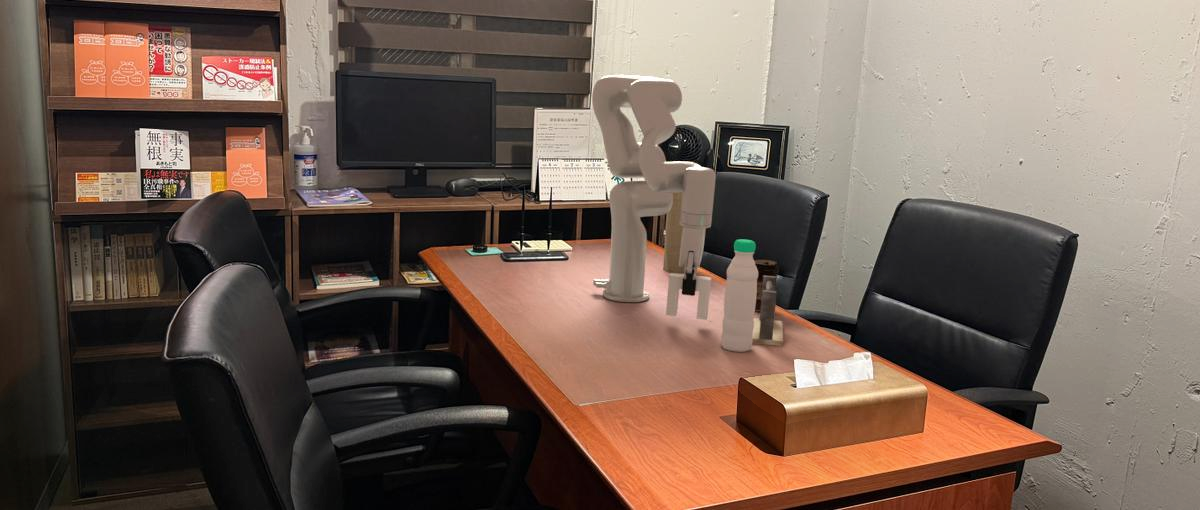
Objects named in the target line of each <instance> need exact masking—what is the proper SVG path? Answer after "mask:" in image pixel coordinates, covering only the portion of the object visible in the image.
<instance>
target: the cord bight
mask: <svg viewBox="0 0 1200 510" xmlns="http://www.w3.org/2000/svg"><path fill="white" fill-rule="evenodd" d="M683 278H684V274H681V273H672V272H669V276H668V288H667V296H666V297H667V298H666V308H665V315H666V316H670V317H677V315H678V308H679V307H678V306H679V297H680V296H679V295H680V290H682V284H683ZM695 279H696V289H695V292H696V291H697V292H698V299H697V307H696V319H697V320H704V321H705V320H706V321H707V320H708V314H709V304H710V296H711V295H710V293H711V286H712V277H711V276H703V275H701V276H700V275H696V277H695Z"/></svg>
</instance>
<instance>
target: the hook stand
mask: <svg viewBox="0 0 1200 510" xmlns="http://www.w3.org/2000/svg"><path fill="white" fill-rule="evenodd" d="M775 281H776V282H777V278H776V276H765V275H763V286H762V297H761V308H760V311H759V318H757V317H756V318H753V319H754V328H753V333H752V337H753V340H752V344H758V345H768V346H777V347H784V334H783V333H784V332H783V321H782V320H777V319H776V320H775V314H776V304H777V295H778V293H777V290H776V286H775Z"/></svg>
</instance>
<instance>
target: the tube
mask: <svg viewBox="0 0 1200 510" xmlns="http://www.w3.org/2000/svg"><path fill="white" fill-rule="evenodd" d="M672 194H673V204H672V207H671V209H670V211H669V212H668V213H666V216H665V217H666V218H665V219H666V220H665V234H664V249H663V250H664V251H663V263H662V265H663V267H662V269H663V271H665V272H668V273H676V274H684V270H685V264H684V266H681V267H680V266H679V259H680V250H681V240H682V232H683V227H684V226H682V225H680V212H681V201H682V193H672Z"/></svg>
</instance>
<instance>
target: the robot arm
mask: <svg viewBox="0 0 1200 510" xmlns="http://www.w3.org/2000/svg"><path fill="white" fill-rule="evenodd" d="M591 100H592V101H591V102H592V108H593V113H594V115H595V118H596V121H597V122H598V125H599V128H600V131H601V134H602V140H603V145H604V150H605V154H606V160H607V165H608V169H609V171H610V173H611V174H612V176H613V177H615V178H619V179H640V178H641V179H643V180H629V181H622V182H619V183H617V184H615V185H614V186H613V187H612V188H611V190H610V193H609V206H610V207H609V208H610V215H611V216H610V217H611V233H610V234H611V235H610V236H611V237H610V256H609V257H610V260H609V275H608V276H609V277H608V278H605V279H601V278H600V279H598V278H594V279H593V283H592V285H593V286H594V287H595V288H598V289H601V288H602V289H604V290H602V296H603V297H604V298H605V299H607V300H610V301H614V302H619V303H638V302H640V303H641V302H644V301H647V300H648V299H649V298H650V293H649V291H647V290H645V289H644V288H645V287H644V286H645V285H644V284H645V275H646V274H645V273H646V272H645V271H646V270H645V269H646V259H647V258H646V256H647V254H646V253H647V239H648V238H647V237H648V236H647V235H648V234H647V230H646V228H645V225H644V224H643V221H642V220H641V218H644V217H654V216H655V217H656V216H658V217H659V216H664V215H667V213H668V212H669V211H670V209H671V207H672V204H673V194H672V193H682V201H681V212H680V225H682V226H684V227H683V232H682V240H681V250H680V259H679V266H680V267H681V266H684V264H685V270H684V278H683V284H682V289H681V295H683V296H692V297H693V296H695V295H696V291H695V289H696V279H695V277H696V276H698V275H697V274H698V268H699V267H700V265H701V262H702V258H703V253H704V246H705V238H706V229H710V228H711V226H712V221H713V219H712V218H713V209H714V208H713V207H714V199H715V189H716V188H715V187H716V178H717V177H716V176H717V175H716V172H715V170H713V168H709V167H704V166H701V165H700V164H698V163H696V162H693V161H667V160H666V156H665V153H664V151H663V150H662V148H661V147H660V146H659V145H660V144H662V143H664V142H665V141H667V140H668V139H670V138H671V137H672V136H673V135H674V133H675V131H676V130H677V129H676V125H677V124H676V122H675V119H674V117H673V116H672V114H671V113H675V112H676V111H678V110H679V109H680V107H681V105H682V101H683V95H682V90H681V88H680V86H679V85H678V84H677V82H675V81H673V80H672V79H665V78H659V77H654V76H644V75H643V76H642V75H641V76H640V75H626V74H625V75H624V74H619V75H618V74H615V75H613V74H612V75H606V76H603V77H600V78H599V79H598V80H597V81H596V82H595V84H594V85H593V90H592V95H591ZM621 108H625V109H626V108H628V109H629V108H630V109H631V111H632V113H633V115H634V117H635V119H636V121H637V124H638V127H639V129H640V131H641V133H642V135H643V138H642V140H641V142H639V141H637V140H636V136H635V131H634V126H633V124H632V122H631V120H630V119H629V118H628V117H627V115H626V114H625V113H624V112H623V111H622V110H621Z"/></svg>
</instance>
